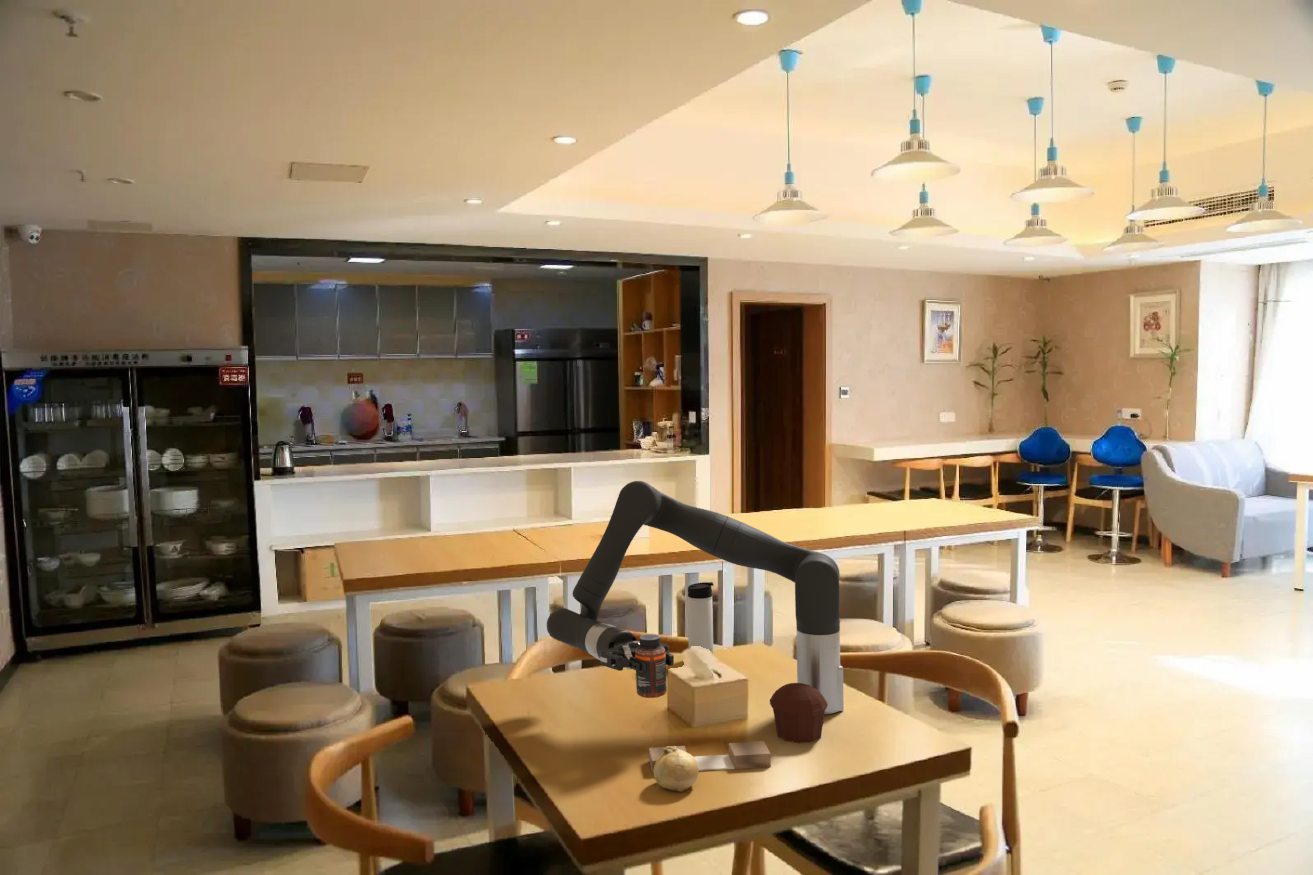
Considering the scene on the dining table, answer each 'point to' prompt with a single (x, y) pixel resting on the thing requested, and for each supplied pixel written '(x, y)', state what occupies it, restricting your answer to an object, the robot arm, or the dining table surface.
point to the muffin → (798, 712)
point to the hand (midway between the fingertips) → (658, 663)
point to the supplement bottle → (651, 667)
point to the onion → (676, 769)
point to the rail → (726, 757)
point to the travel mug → (700, 615)
